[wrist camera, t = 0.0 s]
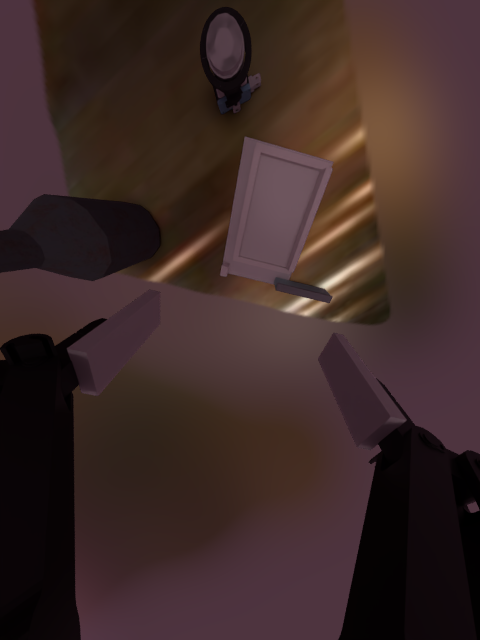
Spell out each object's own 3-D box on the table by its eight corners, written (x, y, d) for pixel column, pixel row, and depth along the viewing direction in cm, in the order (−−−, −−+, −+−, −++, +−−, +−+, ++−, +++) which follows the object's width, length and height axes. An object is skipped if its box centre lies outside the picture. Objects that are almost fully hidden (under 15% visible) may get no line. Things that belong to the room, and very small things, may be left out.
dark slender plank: (275, 276, 39) (278, 283, 35) (324, 288, 39) (332, 296, 35) (273, 282, 39) (275, 290, 35) (322, 294, 40) (329, 303, 36)
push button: (254, 56, 25) (255, -30, 16) (265, 110, 27) (270, 61, 18) (210, 82, 26) (188, 17, 17) (223, 131, 28) (210, 95, 20)
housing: (245, 137, 29) (244, 128, 26) (332, 162, 29) (341, 156, 26) (221, 271, 39) (219, 275, 36) (285, 286, 40) (288, 292, 37)
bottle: (100, 218, 36) (-303, 228, 10) (137, 190, 33) (-284, 104, 7) (136, 266, 40) (-77, 360, 14) (171, 245, 37) (-13, 314, 12)
